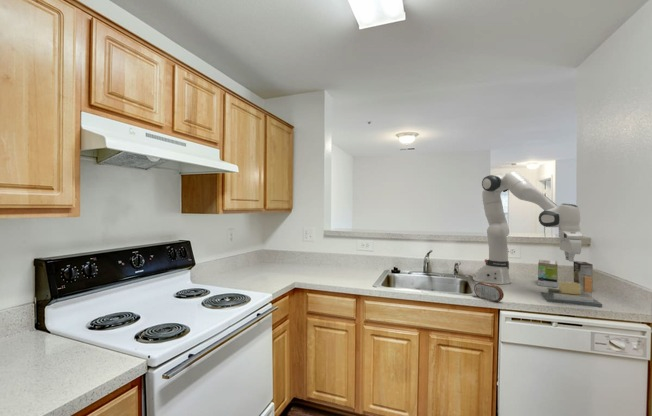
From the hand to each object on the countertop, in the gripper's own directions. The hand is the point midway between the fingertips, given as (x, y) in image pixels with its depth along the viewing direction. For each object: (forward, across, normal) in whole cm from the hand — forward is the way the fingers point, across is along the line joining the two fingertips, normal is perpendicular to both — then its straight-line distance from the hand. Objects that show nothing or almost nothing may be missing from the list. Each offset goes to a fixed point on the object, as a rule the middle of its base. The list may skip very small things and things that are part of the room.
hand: (569, 260), depth 156 cm
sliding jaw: (+19, -7, +1) cm, 21 cm away
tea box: (+21, -38, -1) cm, 43 cm away
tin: (+21, +14, -39) cm, 47 cm away
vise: (+21, 0, 0) cm, 21 cm away
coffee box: (+21, -32, +15) cm, 41 cm away
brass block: (+20, 0, 0) cm, 20 cm away
